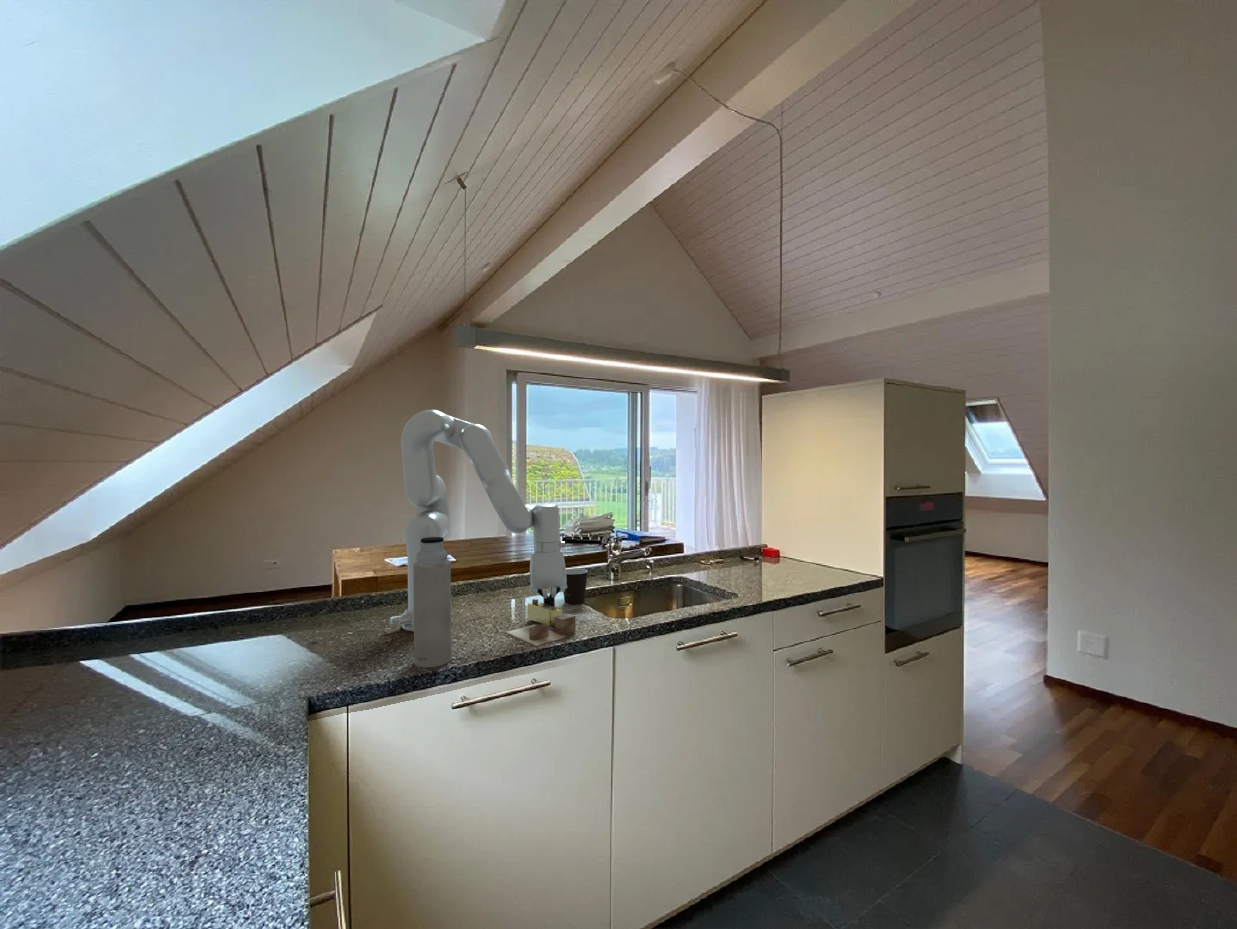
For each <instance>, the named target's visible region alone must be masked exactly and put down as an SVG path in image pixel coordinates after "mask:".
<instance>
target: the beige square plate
mask: <svg viewBox="0 0 1237 929" xmlns="http://www.w3.org/2000/svg"><path fill="white" fill-rule="evenodd" d="M534 626H538V624H531V625H526V626H524V627H520V628H516V629H511V630H508V631H506V632H505V634H508V635H509V636H512V637H514V638H516V639H518V640H521V641H523V642H526V643H528V644H530V645H532V646H535V647H539V646H542V645H546V644H549V643H551V642H556V641H559V640H561V639H562V640H563V639H565V638H566V637H567V635H566V636H564V635H560V634H557V633H555V628H554V627H551V626H549V637H545V638H542V639H538V640H535V641H533V640H530V635H529V628H530V627H534ZM555 640H556V641H555Z"/></svg>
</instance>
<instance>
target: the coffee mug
mask: <svg viewBox="0 0 1237 929" xmlns="http://www.w3.org/2000/svg"><path fill="white" fill-rule="evenodd" d="M587 579H588V570H587V569H584V568H566V584H567V588H566V589H564V590H562V591H563V592H562V593H563V599H564V600H563V601H564V604H565V605H567V606H577V605H582V604H585V600H586V592H587V591H586V589H587V582H588V580H587Z"/></svg>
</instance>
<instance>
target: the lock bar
mask: <svg viewBox="0 0 1237 929" xmlns="http://www.w3.org/2000/svg"><path fill="white" fill-rule="evenodd" d="M531 600H532V602H528V603H527V619H528V620H530V621H534V622H537V623H539V624H547V625H549V626H551V627H554V628H555V617H557V616H561V615H563V608H561V607H557V606H555V607H554V606H551V605H547V604H544V602H540V601H539V599H538V598H533V599H531Z"/></svg>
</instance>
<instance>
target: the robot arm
mask: <svg viewBox="0 0 1237 929" xmlns="http://www.w3.org/2000/svg"><path fill="white" fill-rule="evenodd" d="M434 442H438V443H441V444H444V445H446V446H449V447H452V448H456V449H459V450H461V451H463V453H464V454H465V455H466V457H467V459H468V461H469V463H470V465H471V466H472V468H473V469H474V471H475V473H476V475H477V477H478V479H479V481H480V482H481V484H482V487H483V488H484V490H485V492H486V494H487V496H488V498H489V500H490V502H491V505H492V506H493V509H494V510H495V512H496V513H497V515H498V517H499V518H500V519H499V520H501V522H502V524H503V525H504V528H506V530H508V531H509V532H511V533H512V534H517V535H518V534H523V533H525V532H527V531H528V530H529V529H532V530H533V533H532V534H533V551H532V552H531V554H530V559H529V560H530V561H529V583H530V587H529V591H530V592H531V593H533V594H534V593H535V594H539V595H540V596H541V597H542V598H543V603H544V604H547V605H551V606H554V607H556V603H555V601H556V599H555V598H556V596H557V595H558V593H559V592H561V591H563V590H564V589H566V588H567V584H566V569H567V568H566V562H565V556H564V552H563V550H562V548H564V547H566V542H565V541H561V533H560V532H561V531H560V528H561V526H560V508H559V506H558V505H557V504H554V503H550V504H549V503H542V504H535V505H533V504H525V503H524V501H523V500H522V498H521V496H520V494H519V492H518V490H517V488H516V486H515V484H514V482H513V479H512V474H511V471H510V469H509V467H508V465H507V463H506V461H505V459H504V458H503V456H502V454H501V453H500V451H499V448H498V447H497V445H496V444H495V441H494V439H493V435H492V433H491V432H490V430H489V429H488V428H487V427H485V426H484V425H481V424H478V423H472V422H468V421H465V420H462V419H459V418H457V417H453V416H451V415H449V414H446V413H445V412H442V411H440V410H437V409H426V410H422V411H420V412H418V413H416V414H414V415H413V416H412V417H411V418H410V419H409V420H408V421H407V422H406V424H405V425H404V427H403V429H402V432H401V437H400V448H401V449H400V453H401V458H402V459H401V461H402V471H403V472H402V473H403V474H402V475H403V482H404V483H403V484H404V486H403V487H404V496H405V497H406V500H407V502H408V503H409V504H411V505H412V506H414V508H415V514H414V515H413V516H412V517H411V518H410V519H409V520H408V522H407V524H406V527H405V531H404V532H405V533H404V534H405V535H404V536H405V538H404V539H405V545H406V546H405V547H406V557H407V609H405V610H404V613H401V614H400V615H395V616H391V617H389V625H394V624H398V625H401V626H402V627H401V628H402V629H403V630H404V631H406V632H407V631H409V632H414V582H413V564H414V563H416V562H417V559H416V557H417V553H418V552H420V551H421V539H422V538H428V537H443V538H444V537H446V535H448V533H449V530H450V526H451V519H450V509H449V499H448V491H447V486H446V483H445V481H444V480H443V478H442V477H441V476H439V475H438V474H437V470H436V458H435V452H434V447H433V446H434ZM548 588H550V593H549V595H548V592H547V591H548V590H547V589H548Z"/></svg>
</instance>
